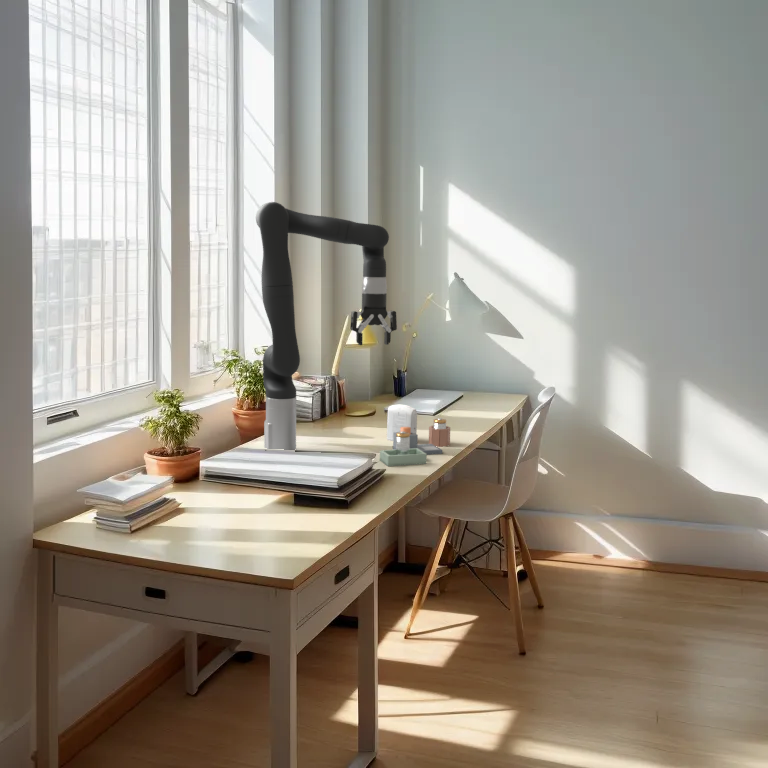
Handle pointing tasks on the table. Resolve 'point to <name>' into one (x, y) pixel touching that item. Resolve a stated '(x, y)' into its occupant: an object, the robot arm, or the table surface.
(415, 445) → the grey stepped block
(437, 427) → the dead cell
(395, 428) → the photo printer
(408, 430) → the button
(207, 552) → the table surface
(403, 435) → the cylinder
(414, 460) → the trough
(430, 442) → the cup
